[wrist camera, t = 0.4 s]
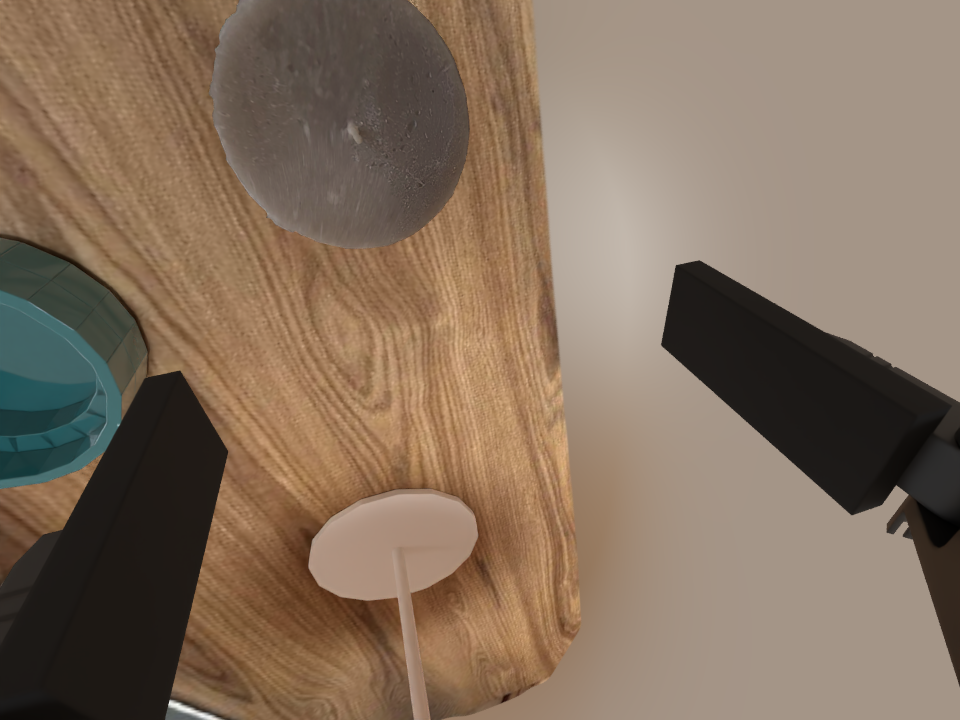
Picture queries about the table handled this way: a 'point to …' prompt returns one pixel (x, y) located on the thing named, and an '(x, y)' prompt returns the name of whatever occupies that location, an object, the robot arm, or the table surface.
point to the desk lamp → (395, 557)
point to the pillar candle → (340, 116)
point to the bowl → (60, 366)
